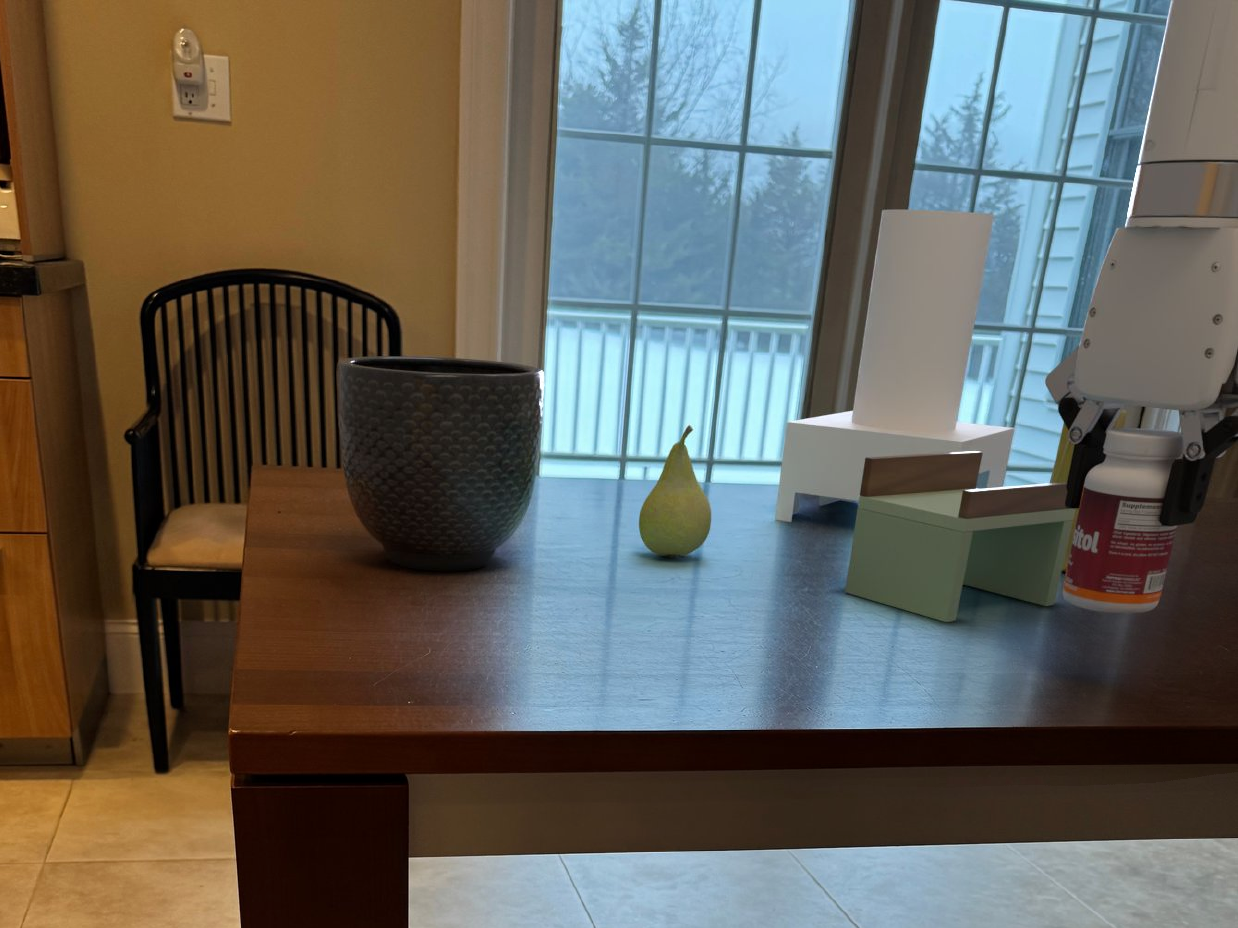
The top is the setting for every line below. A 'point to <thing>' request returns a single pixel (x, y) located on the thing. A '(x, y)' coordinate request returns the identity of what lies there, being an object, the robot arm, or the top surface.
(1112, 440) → the pill bottle
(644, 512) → the fruit
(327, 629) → the top surface
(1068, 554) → the vase
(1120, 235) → the robot arm
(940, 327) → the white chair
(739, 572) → the top surface
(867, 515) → the stand
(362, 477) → the planter
